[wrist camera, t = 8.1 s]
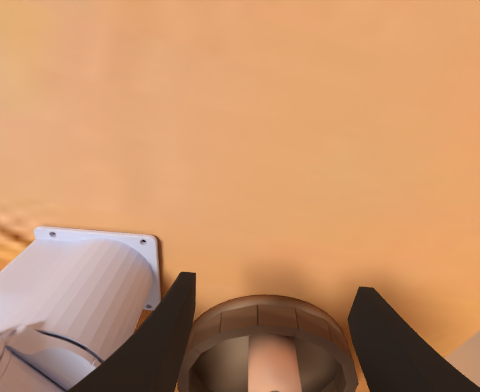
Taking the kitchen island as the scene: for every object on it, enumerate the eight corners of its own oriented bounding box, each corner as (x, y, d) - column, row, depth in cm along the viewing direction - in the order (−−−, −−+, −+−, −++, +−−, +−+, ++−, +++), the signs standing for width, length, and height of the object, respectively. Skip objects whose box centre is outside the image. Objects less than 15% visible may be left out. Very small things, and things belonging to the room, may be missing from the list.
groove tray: (185, 393, 33) (178, 425, 30) (183, 287, 26) (175, 317, 23) (326, 404, 33) (333, 438, 30) (366, 302, 26) (380, 334, 23)
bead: (246, 347, 27) (245, 407, 23) (251, 317, 25) (251, 376, 21) (288, 352, 27) (296, 412, 23) (297, 322, 26) (307, 382, 21)
